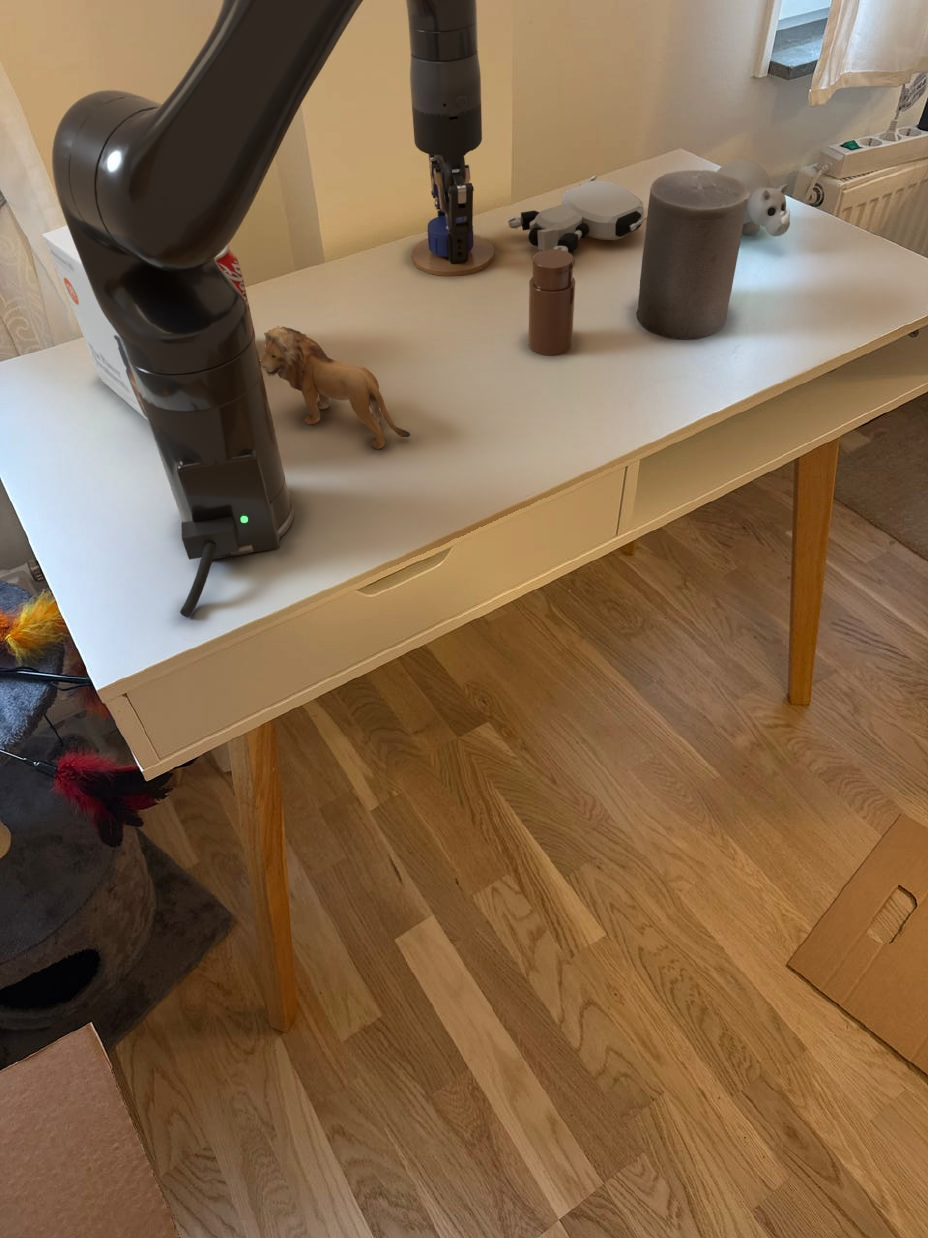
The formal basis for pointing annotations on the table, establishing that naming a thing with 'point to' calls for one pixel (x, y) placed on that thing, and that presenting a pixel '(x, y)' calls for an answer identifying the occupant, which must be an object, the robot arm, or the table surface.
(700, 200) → the pillar candle
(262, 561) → the table surface
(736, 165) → the toy rhinoceros
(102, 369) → the skincare box
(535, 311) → the jar
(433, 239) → the lid
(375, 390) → the lion figurine
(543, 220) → the robot toy
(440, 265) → the coaster
